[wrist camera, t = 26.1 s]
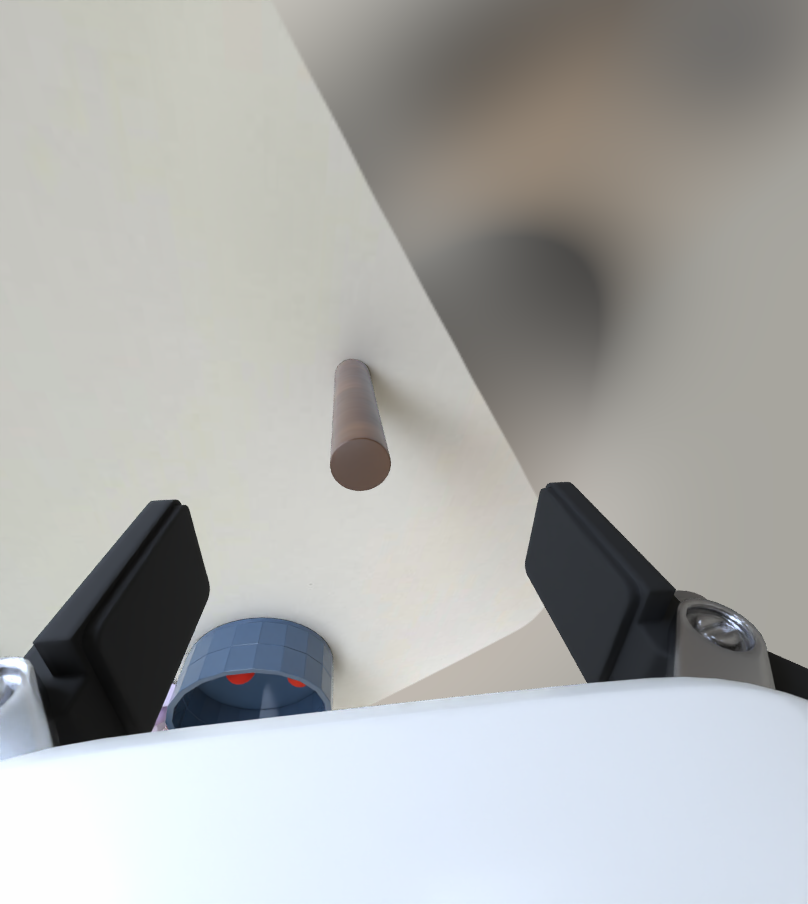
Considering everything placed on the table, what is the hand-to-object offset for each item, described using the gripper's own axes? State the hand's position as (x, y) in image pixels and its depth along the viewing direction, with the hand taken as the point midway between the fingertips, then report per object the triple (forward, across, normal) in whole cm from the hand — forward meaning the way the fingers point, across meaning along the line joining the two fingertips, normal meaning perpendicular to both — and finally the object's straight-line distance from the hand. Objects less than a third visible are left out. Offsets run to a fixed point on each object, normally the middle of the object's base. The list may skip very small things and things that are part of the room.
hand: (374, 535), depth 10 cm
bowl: (+21, +12, +33) cm, 41 cm away
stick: (+20, +1, +1) cm, 20 cm away
